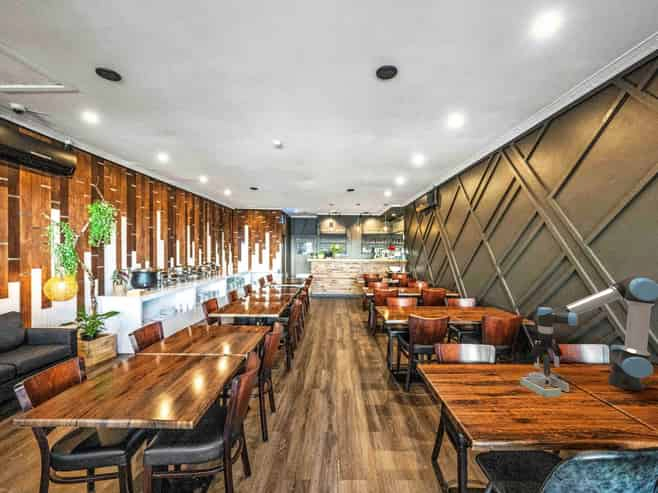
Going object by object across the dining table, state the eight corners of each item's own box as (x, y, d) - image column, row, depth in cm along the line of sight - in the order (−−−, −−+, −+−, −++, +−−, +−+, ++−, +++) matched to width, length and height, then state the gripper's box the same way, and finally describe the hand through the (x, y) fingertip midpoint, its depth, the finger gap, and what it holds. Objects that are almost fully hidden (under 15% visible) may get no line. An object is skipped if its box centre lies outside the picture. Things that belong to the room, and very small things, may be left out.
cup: (548, 387, 174) (547, 373, 174) (554, 393, 166) (553, 379, 166) (527, 385, 177) (526, 371, 177) (532, 391, 169) (531, 377, 169)
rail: (555, 378, 186) (555, 373, 187) (563, 381, 181) (562, 376, 181) (523, 380, 184) (522, 375, 184) (529, 383, 179) (529, 378, 179)
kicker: (546, 377, 187) (545, 353, 188) (576, 391, 167) (575, 364, 168) (537, 377, 186) (537, 353, 187) (566, 392, 167) (565, 365, 167)
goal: (535, 383, 179) (535, 376, 180) (561, 396, 162) (561, 389, 162) (520, 384, 178) (520, 377, 178) (544, 397, 161) (544, 390, 161)
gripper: (558, 330, 189) (559, 364, 188) (522, 331, 186) (523, 366, 186) (569, 333, 182) (570, 368, 181) (532, 334, 179) (533, 370, 178)
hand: (546, 367), depth 183 cm, fingers open, 13 cm apart
